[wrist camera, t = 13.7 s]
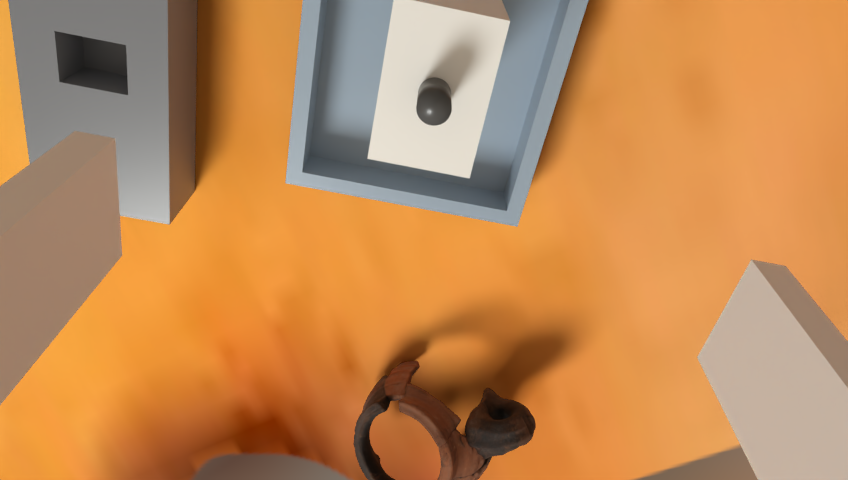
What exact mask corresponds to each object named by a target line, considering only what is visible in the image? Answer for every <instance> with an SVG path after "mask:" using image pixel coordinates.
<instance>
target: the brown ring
mask: <svg viewBox="0 0 848 480" xmlns="http://www.w3.org/2000/svg"><path fill="white" fill-rule="evenodd" d="M418 368H419V363H418V361H408V362H403V363H400V364H399V365H398V366H397V367H396V368H393V369H392V371H391V373H390V374H389V376H387V375H385V376H383V377H382V378H381V379H380V380H379V382H378V383H377V384H376V385H375V387H374V388H373V390H372V391H371V393H370V394H369V396H368V398H367V400H366V402H365V404H364V407H363V411H362V414H361V415H360V416H359V418H358V420H357V423H356V427H355V435H354V447H355V452H356V457H357V460H358V462H359V465H360V467H361V469H362V471H363V473H364V474H365V476H366V478H367V479H368V480H395V479H393V478H391V477H390V476H388V475H387V474H386V473H385V471H384V470H383V468H382V467H381V465H380V458H379V456H378V455H377V454H375V452H374V451H373V449H372V447H371V444H370V439H369V431H370V426H371V423H372V421H373V419H374V418H375V417H376V416H377V415H379V414H380V413H382V412H385V411H386V410H387V409H388V407H389V404H390V401H391V400H392V401H396V400H399V410H400V412H402V413H404V414H406V415H409V416H411V417H412V418H414V419H416V420H417V421H419V422H420V423H421V424H422V425H423V426H424V427H425V428H426V429H427V430H428V432H429V433H430V434H431V436H432V438H433V439H434V441H435V442H436V444H437V446H438V447H439V452H440V457H441V471H440V475H439V478H438V480H477V479H479V478H480V476H481V475H482V474H483V472H484V471H485V469H486V468H487V466H488V464H489V462H490V460H491V458H492V456H497V455H504V454H506V453H507V452H509V451H512V450H514V449H516V448H518V447H519V446H522V445H525V444H527V443H528V442H529V441H530V440H531V439H532V437H533V433H534V430H535V420H534V417H533V416H532V415H531V413H530V411H529V410H528V409H527V408H526V407H525V406H524V405H522V404H521V403H519V402H516V401H513V400H508V399H503V398H501V397H499V396H498V395H497V394H496V393H495V392H494V391H493V390H491V389H489V388H486V389H485V390H484V393H483V398H482V400H481V402H480V404H479V405H478V407H476V408H475V409H473V410H472V412H471V413H470V415H469V418H468V419H467V422H466V426H465V434H466V436H463V435H461V434H460V433H459V432H458V431H457V430H456V427H457V425H458V424H459V423H460V421H461V419H460V418H459V417H458V416H457V415H456V414H454V413H453V412H452V411H451V410H450V409H449V408H447V407H446V405H444V404H443V403H442V402H441V401H439V400H437V399H436V398H434V397H433V396H431V395H430V394H429V393H427V392H426V391H425V390H423V389H421V388H419V387H417V386H415V385H412V384H410V381H411V378H412V376H413V374H414V373H415V372H416V370H417V369H418Z"/></svg>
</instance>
